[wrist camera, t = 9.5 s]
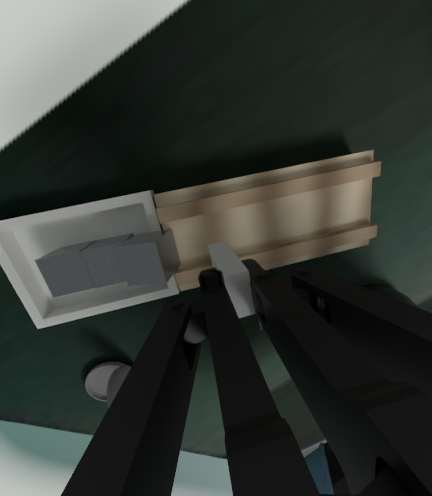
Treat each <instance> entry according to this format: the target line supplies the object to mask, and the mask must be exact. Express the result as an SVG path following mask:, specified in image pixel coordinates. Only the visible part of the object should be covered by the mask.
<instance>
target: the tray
mask: <svg viewBox="0 0 432 496" xmlns="http://www.w3.org/2000/svg"><path fill="white" fill-rule="evenodd" d="M156 208H157V206H156V202H155V199H154V191H153V190H149V191H144V192H139V193H134V194H129V195H125V196H120V197H115V198H110V199H105V200H100V201H95V202H90V203H85V204H80V205H75V206H70V207H65V208H60V209H56V210H51V211H46V212H41V213H36V214H31V215H26V216H21V217H16V218H11V219H6V220H1V221H0V265H1V266H2V268H3V270H4V272H5V273H6V275H7V277H8V279H9V280H10V282H11V284H12V286H13V287H14V289H15V291H16V292H17V294H18V296H19V298H20V299H21V301H22V303H23V305H24V306H25V308H26V310H27V312H28V313H29V315H30V317H31V318H32V320H33V322H34V324H35V325H36V327H37V329H40V328H44V327H48V326H52V325H56V324H60V323H64V322H68V321H72V320H76V319H80V318H84V317H88V316H92V315H96V314H100V313H104V312H108V311H112V310H116V309H120V308H124V307H128V306H132V305H136V304H140V303H144V302H148V301H152V300H156V299H160V298H164V297H168V296H172V295H176V294H179V286H178V285H177V281H176V278H175V274H173V276H172V277H171V278H170V279H169V281H168V282H167V283H159V284H147V285H136V286H128V283H127V281H126V282H121V283H117V284H113V285H109V286H104V287H100V288H92V289H88V290H84V291H80V292H75V293H71V294H67V295H62V296H58V297H54V298H53V296H52V294H51V292H50V290H49V288H48V286H47V284H46V282H45V280H44V278H43V276H42V274H41V272H40V270H39V268H38V266H37V264H36V262H35V260H36V259H38V258H40V257H42V256H44V255H46V254H48V253H50V252H52V251H54V250H56V249H58V248H60V247H65V246H70V245H74V244H79V243H84V242H89V241H93V240H101V239H106V238H111V237H115V236H120V235H125V234H130V233H133V235H134V236H135V235H137V234H142V233H149V232H156V231H163V227H162V224H160V222H159V218H158V215H157V211H156Z"/></svg>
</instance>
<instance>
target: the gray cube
mask: <svg viewBox="0 0 432 496" xmlns="http://www.w3.org/2000/svg"><path fill="white" fill-rule="evenodd" d="M114 248H115V251H116V253H117V256H118V259H119V261H120V264H121V267H122V270H123V272H124V275H125V278H126V281H127V283H128V286H136V285H147V284H159V283H167V282H168V281H169V279H170V278H171V277H172V276H173V274H174V273H175V272H176V270H177V269H178V268H179V266H180V265H181V262H180V258H179V255H178V251H177V247H176V243H175V239H174V236H173V232H172V229H169V230H163V231H156V232H149V233H142V234H137V235H135V236H133V237H131V238H130V239H128V240H126V241H124V242H122V243H121V244H119V245H117V246H115V247H114Z"/></svg>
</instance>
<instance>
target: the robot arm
mask: <svg viewBox="0 0 432 496" xmlns="http://www.w3.org/2000/svg"><path fill="white" fill-rule="evenodd" d="M208 247H209V252H210V256H211V261H212V266H213V268H210V269H206V270H202V271H201V272H200V274H199V276H198V280H199V284H200V288H201V292H202V294H201V296H200V297H199V298H197V299H196V300H194V301H192V302H190V301H189V300H188V299H186V298H178V299H174V300H172V301H170V302H169V303H167V304H166V305H165V307H164V308H163V310H162V312H161V314H160V316H159V318H158V319H157V321H156V323H155V325H154V327H153V329H152V330H151V332H150V334H149V336H148V338H147V339H146V341H145V343H144V345H143V347H142V349H141V350H140V352H139V354H138V356H137V358H136V359H135V361H134V363H133V365H132V367H131V369H130V370H129V372H128V374H127V376H126V378H125V380H124V381H123V383H122V385H121V387H120V389H119V390H118V392H117V394H116V396H115V398H114V400H113V401H112V403H111V405H110V407H109V409H108V411H107V412H106V414H105V416H104V418H103V420H102V421H101V423H100V425H99V427H98V429H97V431H96V432H95V434H94V436H93V438H92V440H91V442H90V443H89V445H88V447H87V449H86V451H85V453H84V454H83V456H82V458H81V460H80V462H79V463H78V465H77V467H76V469H75V471H74V473H73V474H72V477H71V478H70V480H69V482H68V483H67V485H66V487H65V489H64V491H63V493H62V494H61V496H171V492H172V487H173V482H174V477H175V472H176V467H177V462H178V457H179V452H180V447H181V443H182V438H183V433H184V428H185V423H186V418H187V413H188V408H189V403H190V398H191V393H192V388H193V383H194V378H195V373H196V368H197V364H198V359H199V354H200V349H201V341H202V340H204V339H206V338H208V337H209V340H210V346H211V352H212V358H213V364H214V370H215V376H216V382H217V388H218V394H219V400H220V406H221V412H222V418H223V424H224V430H225V447H226V453H227V460H228V466H229V472H230V478H231V485H232V491H233V496H432V313H430V312H427V311H425V310H422V309H420V308H419V307H418V306H417V305H416V304H414V302H413V301H412V300H411V299H410V298H408V297H407V296H406V295H404V294H402V293H400V292H398V291H396V290H394V289H392V288H390V287H388V286H384V285H368V286H364V287H362V286H359V285H356V284H354V283H351V282H348V281H346V280H343V279H341V278H338V277H335V276H333V275H330V274H327V273H325V272H322V271H320V270H317V269H314V268H310V267H299V268H296V269H294V270H292V272H291V276H292V277H281V278H280V277H279V276H278V275H277V274H275V273H274V272H272V271H265V270H264V269H263V268H262V267H261V266H260V265H259V264H258V263H257V262H256V261H255V260H253V259H246V260H240V259H239V258H238V256H237V255H236V254H235V253H234V251H233V250H232V249H231V247H230V246H229V245H228V244H227V242H226V241H223V242H219V243H214V244H210V245H208ZM320 298H321V299H323V300H324V301H325V307H323V306H321V305H320ZM254 306H255V307H254ZM255 308H256V309H257V314H258V320H259V326H260V330H262V326H263V328H264V330H265V331H266V333H267V335H268V337H269V338H270V340H271V342H272V344H273V346H274V347H275V349H276V351H277V353H278V355H279V356H280V358H281V360H282V362H283V363H284V365H285V367H286V369H287V371H288V372H289V374H290V376H291V378H292V380H293V381H294V383H295V385H296V387H297V388H298V390H299V392H300V394H301V396H302V397H303V399H304V401H305V403H306V405H307V406H308V408H309V410H310V412H311V413H312V415H313V417H314V419H315V421H316V422H317V424H318V426H319V428H320V430H321V431H322V433H323V435H324V437H325V438H326V440H327V443H325V444H324V443H320V445H319V448H317V449H316V450H314V451H313V452H312V453H310V454H309V455H307V456H306V457H303V455H302V453H301V450H300V448H299V446H298V444H297V441H296V439H295V437H294V435H293V432H292V430H291V428H290V426H289V424H288V423H287V421H286V420H285V419H283V418H281V416H280V414H279V412H278V410H277V407H276V405H275V403H274V400H273V398H272V396H271V393H270V391H269V388H268V386H267V384H266V381H265V379H264V377H263V374H262V372H261V369H260V367H259V365H258V362H257V360H256V358H255V355H254V353H253V351H252V348H251V346H250V343H249V341H248V339H247V336H246V334H245V332H244V329H243V327H242V324H241V322H240V320H239V318H242V317H246V316H249V315H253V314H256V313H255Z"/></svg>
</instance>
